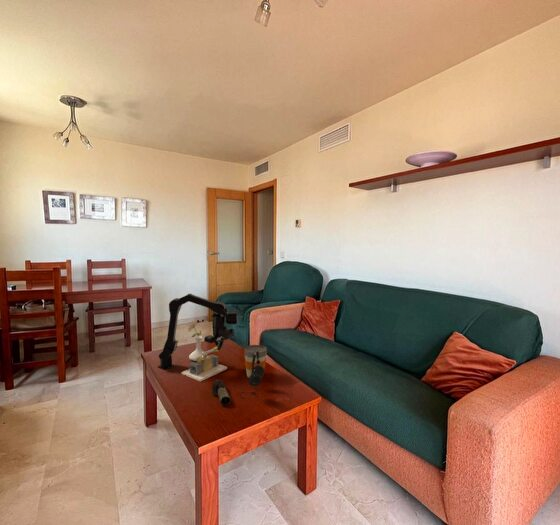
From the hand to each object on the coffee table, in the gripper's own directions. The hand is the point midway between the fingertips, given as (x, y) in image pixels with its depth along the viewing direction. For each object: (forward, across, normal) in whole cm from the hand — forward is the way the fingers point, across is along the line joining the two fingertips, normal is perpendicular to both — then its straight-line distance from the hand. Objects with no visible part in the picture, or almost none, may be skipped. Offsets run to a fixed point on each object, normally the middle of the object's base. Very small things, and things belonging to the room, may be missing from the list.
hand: (219, 350), depth 171 cm
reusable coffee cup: (+10, +4, -24) cm, 26 cm away
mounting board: (+10, -9, +2) cm, 13 cm away
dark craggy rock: (+11, -24, -24) cm, 35 cm away
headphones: (+10, -12, -34) cm, 37 cm away
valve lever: (+2, -4, +2) cm, 5 cm away
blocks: (+10, -9, +2) cm, 14 cm away
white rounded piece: (+10, 0, +18) cm, 21 cm away
